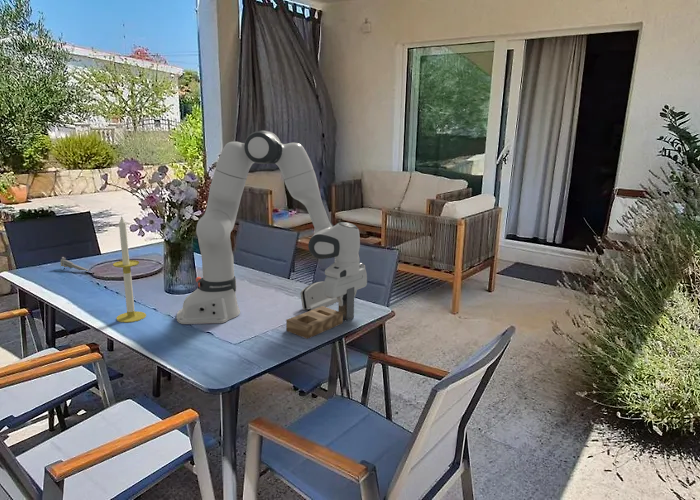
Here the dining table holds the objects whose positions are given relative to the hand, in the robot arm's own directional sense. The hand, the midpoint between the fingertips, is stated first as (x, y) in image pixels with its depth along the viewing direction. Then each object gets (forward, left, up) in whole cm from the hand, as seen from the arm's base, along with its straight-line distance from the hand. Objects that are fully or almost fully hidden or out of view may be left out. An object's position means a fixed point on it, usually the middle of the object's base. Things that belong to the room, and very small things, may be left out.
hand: (346, 303), depth 178 cm
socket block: (-13, -5, -6) cm, 15 cm away
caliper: (-105, +88, -6) cm, 137 cm away
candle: (-75, +21, -6) cm, 78 cm away
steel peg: (0, 0, -6) cm, 6 cm away
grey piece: (-6, +16, -6) cm, 18 cm away
